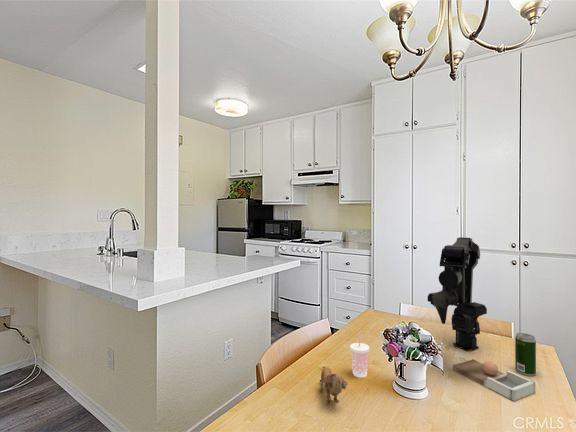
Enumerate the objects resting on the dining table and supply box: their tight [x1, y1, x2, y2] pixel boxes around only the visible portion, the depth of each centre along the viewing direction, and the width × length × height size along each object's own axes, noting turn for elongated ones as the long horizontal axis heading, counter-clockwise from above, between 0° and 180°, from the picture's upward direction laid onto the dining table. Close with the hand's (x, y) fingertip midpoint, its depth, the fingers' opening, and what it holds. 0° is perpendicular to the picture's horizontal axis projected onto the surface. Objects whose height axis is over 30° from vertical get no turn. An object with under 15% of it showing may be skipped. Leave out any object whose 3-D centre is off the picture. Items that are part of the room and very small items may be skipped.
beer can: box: [514, 332, 537, 377], centre depth 100 cm, size 5×5×12 cm
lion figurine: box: [319, 366, 349, 406], centre depth 89 cm, size 15×5×9 cm, turn 17°
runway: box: [452, 359, 507, 388], centre depth 99 cm, size 12×10×2 cm
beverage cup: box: [350, 331, 370, 379], centre depth 101 cm, size 6×6×14 cm
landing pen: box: [486, 370, 536, 402], centre depth 91 cm, size 8×10×3 cm
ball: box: [483, 360, 499, 375], centre depth 97 cm, size 4×4×4 cm
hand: (455, 328), depth 105 cm, fingers open, 9 cm apart
